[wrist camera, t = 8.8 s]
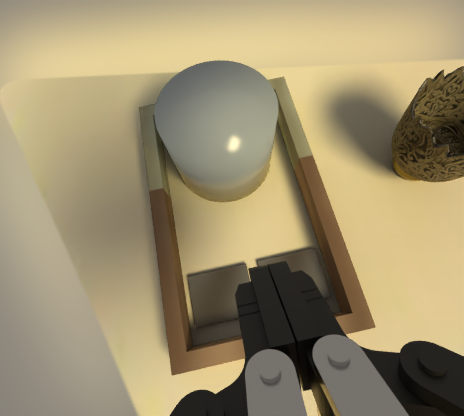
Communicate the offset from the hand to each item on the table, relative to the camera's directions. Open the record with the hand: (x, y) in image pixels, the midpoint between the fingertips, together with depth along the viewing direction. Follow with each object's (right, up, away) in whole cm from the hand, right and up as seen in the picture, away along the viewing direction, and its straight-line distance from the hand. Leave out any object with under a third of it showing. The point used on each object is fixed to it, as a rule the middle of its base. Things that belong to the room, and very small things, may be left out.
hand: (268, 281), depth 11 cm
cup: (+15, +7, +15) cm, 22 cm away
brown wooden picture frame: (-1, +3, +14) cm, 14 cm away
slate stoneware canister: (-2, +8, +16) cm, 18 cm away
